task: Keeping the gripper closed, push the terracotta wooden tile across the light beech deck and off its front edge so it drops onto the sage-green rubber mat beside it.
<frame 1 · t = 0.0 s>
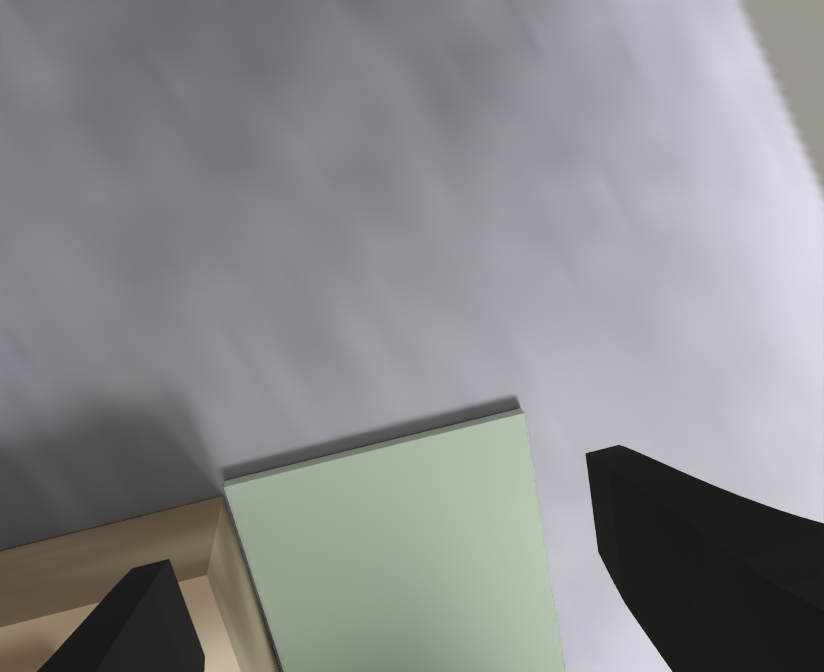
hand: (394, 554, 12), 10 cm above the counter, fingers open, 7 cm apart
mat: (420, 631, 25), on the counter
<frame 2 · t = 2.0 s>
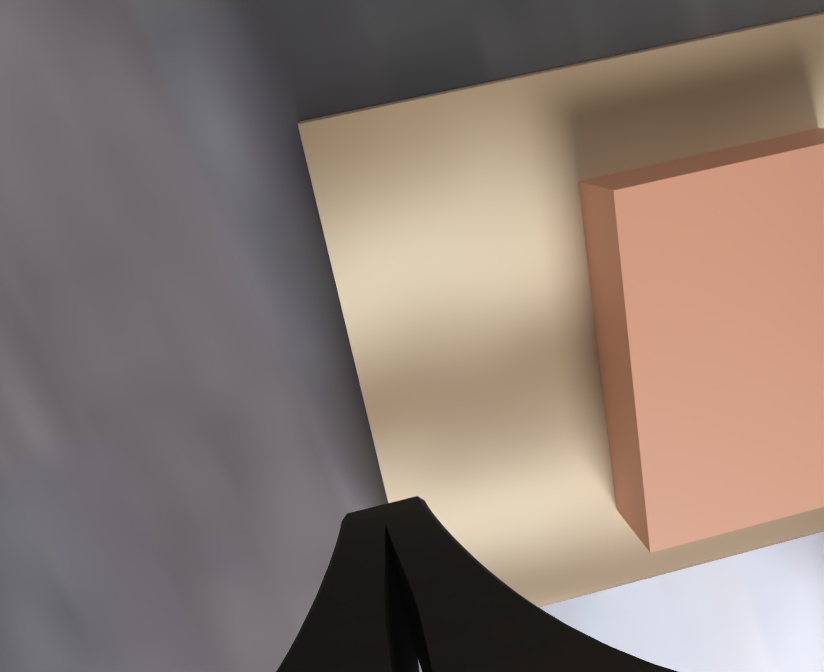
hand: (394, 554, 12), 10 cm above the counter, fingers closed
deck: (610, 300, 22), on the counter
tile: (710, 331, 18), point 4 cm above the counter, touching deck
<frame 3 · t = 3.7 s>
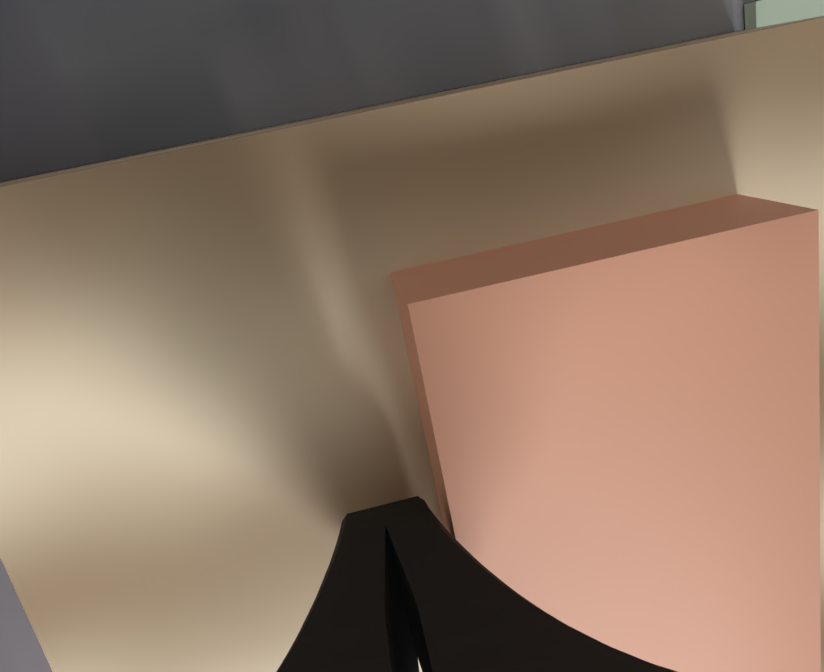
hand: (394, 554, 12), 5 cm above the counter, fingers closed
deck: (431, 412, 17), on the counter
tile: (596, 468, 13), point 4 cm above the counter, touching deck
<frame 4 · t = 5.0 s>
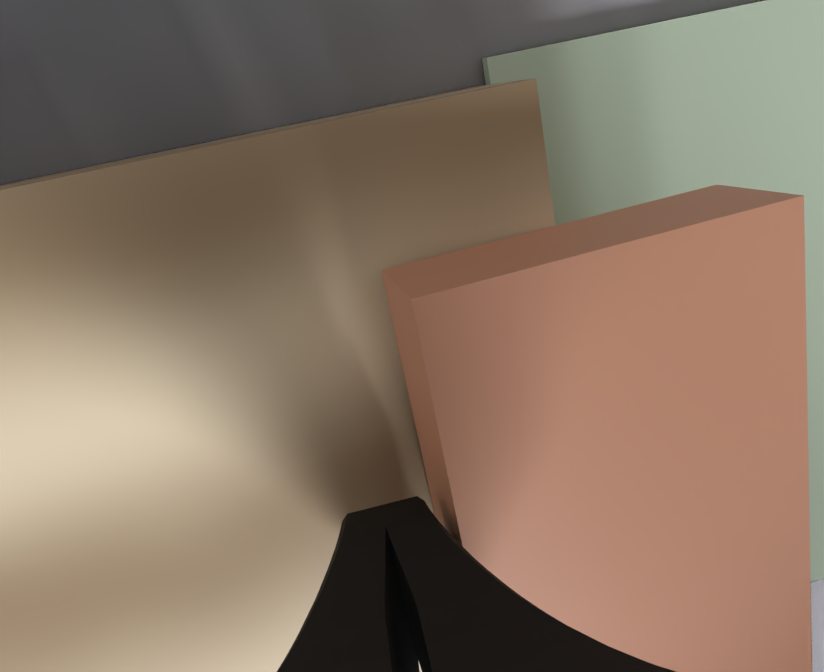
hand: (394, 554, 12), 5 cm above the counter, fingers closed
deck: (191, 471, 16), on the counter
mat: (720, 343, 17), on the counter
tile: (587, 462, 13), point 4 cm above the counter, tilted 5°, touching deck, gripper
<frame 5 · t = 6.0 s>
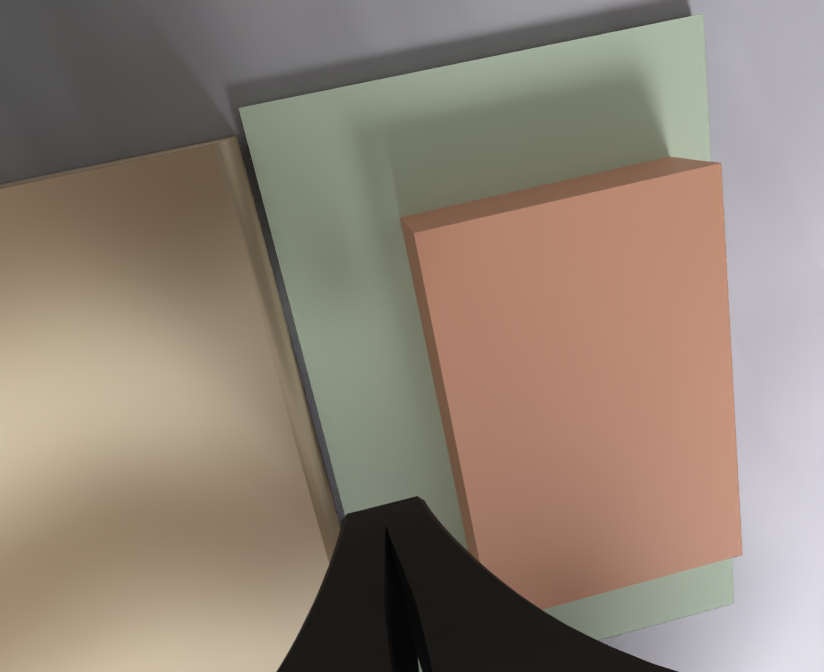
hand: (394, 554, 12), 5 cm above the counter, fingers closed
mat: (523, 391, 17), on the counter
tile: (596, 412, 15), point 2 cm above the counter, tilted 180°, touching mat
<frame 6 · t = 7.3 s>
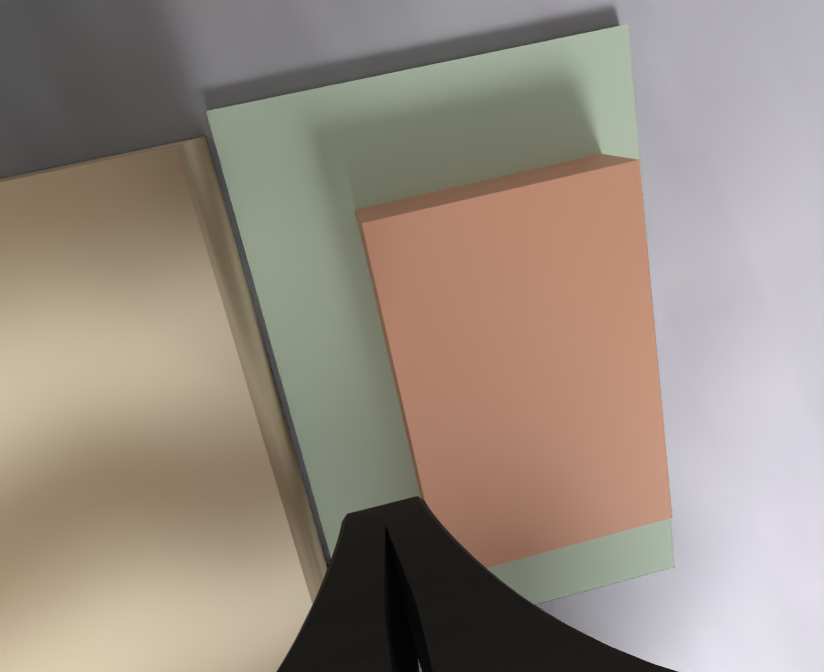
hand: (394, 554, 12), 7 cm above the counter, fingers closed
mat: (473, 369, 19), on the counter
tile: (533, 386, 16), point 2 cm above the counter, tilted 180°, touching mat
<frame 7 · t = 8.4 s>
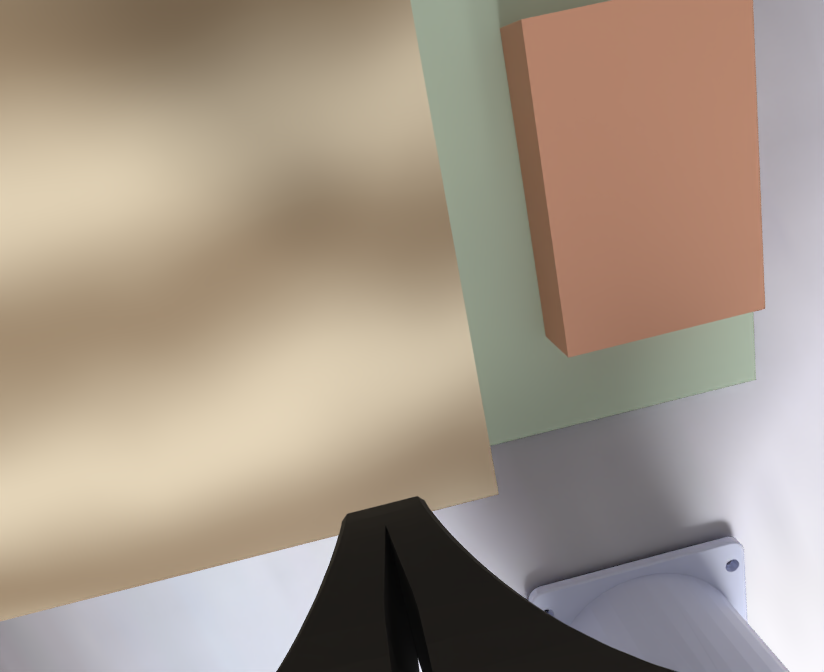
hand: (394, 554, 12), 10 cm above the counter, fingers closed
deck: (155, 281, 20), on the counter
mat: (589, 185, 21), on the counter
tile: (654, 176, 19), point 2 cm above the counter, tilted 180°, touching mat
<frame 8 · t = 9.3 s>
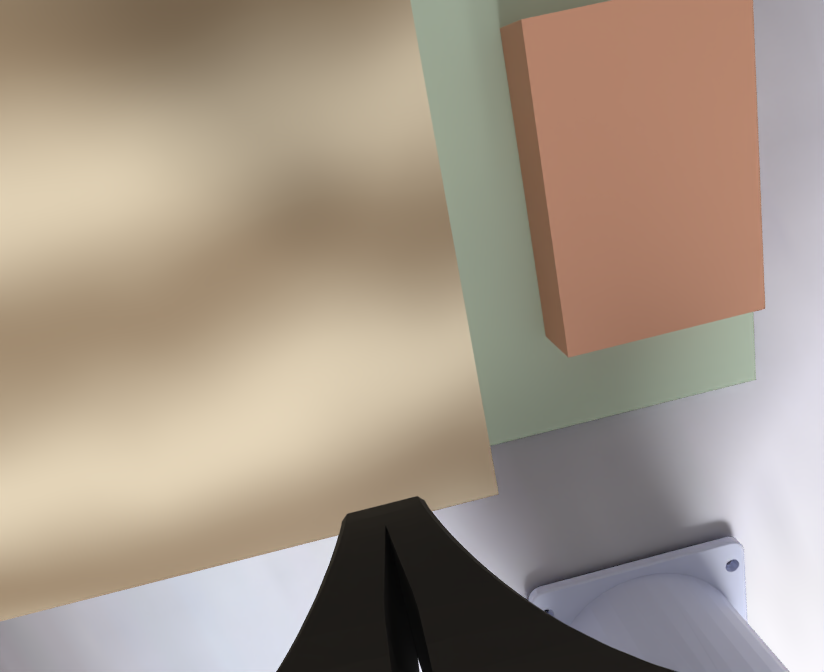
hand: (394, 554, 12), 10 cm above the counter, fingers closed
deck: (155, 281, 20), on the counter
mat: (589, 185, 21), on the counter
tile: (654, 176, 19), point 2 cm above the counter, tilted 180°, touching mat
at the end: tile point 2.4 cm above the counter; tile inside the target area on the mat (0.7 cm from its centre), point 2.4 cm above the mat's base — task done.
